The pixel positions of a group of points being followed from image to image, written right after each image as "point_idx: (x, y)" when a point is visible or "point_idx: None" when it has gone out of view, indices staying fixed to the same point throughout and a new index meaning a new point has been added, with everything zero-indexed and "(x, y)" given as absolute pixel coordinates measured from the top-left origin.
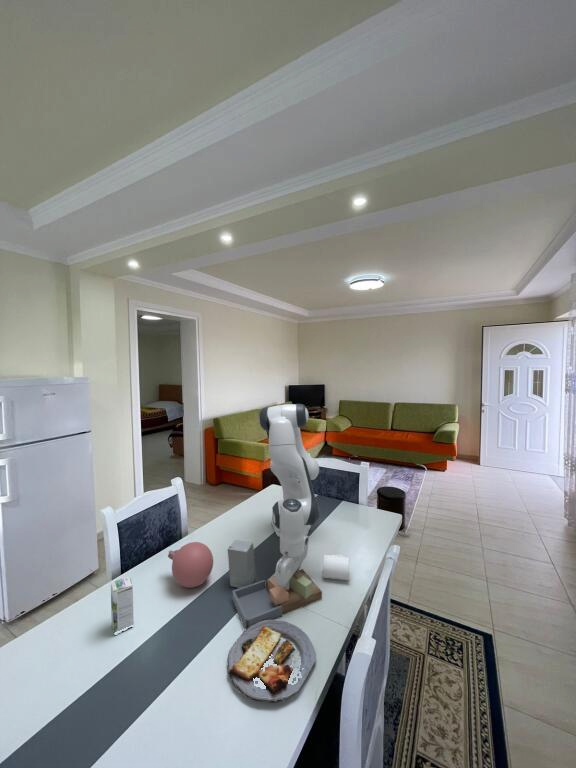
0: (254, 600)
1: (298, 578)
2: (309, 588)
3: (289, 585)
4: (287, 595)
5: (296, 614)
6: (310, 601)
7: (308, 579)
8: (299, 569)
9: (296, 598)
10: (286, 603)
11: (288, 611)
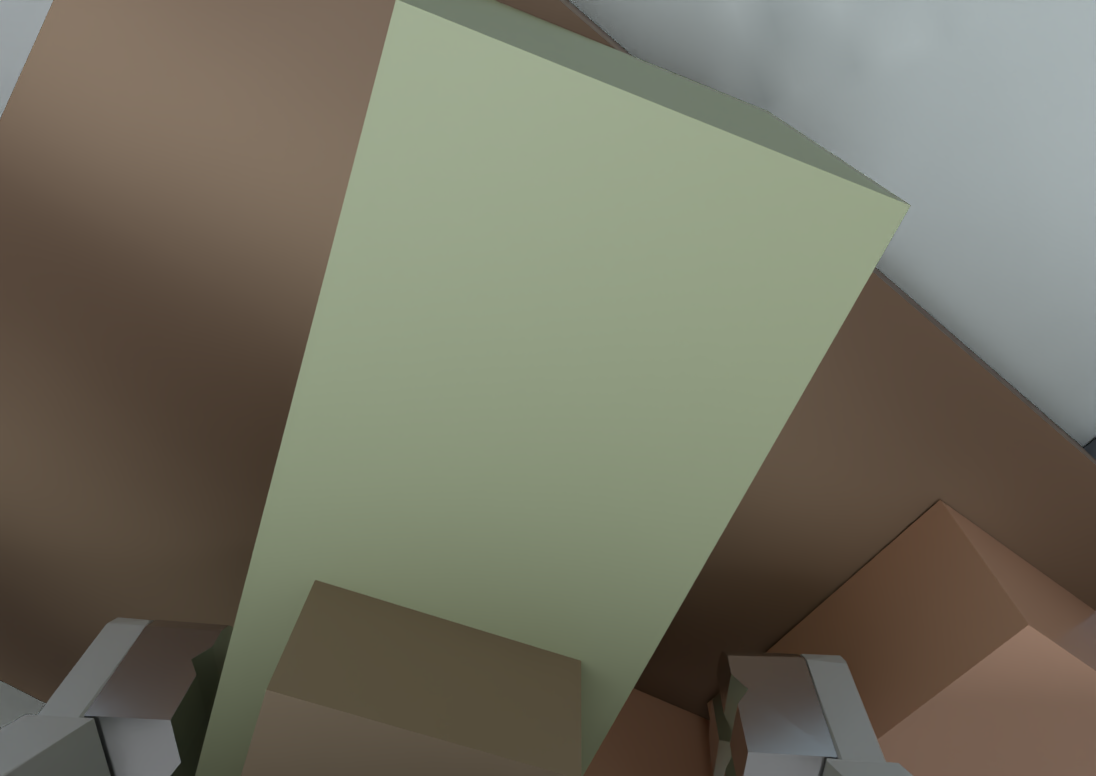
0: None
1: (524, 658)
2: (618, 70)
3: (816, 731)
4: (1026, 603)
5: (995, 199)
6: (581, 14)
7: (342, 266)
8: (7, 750)
9: (832, 355)
10: (1064, 502)
11: (997, 374)
